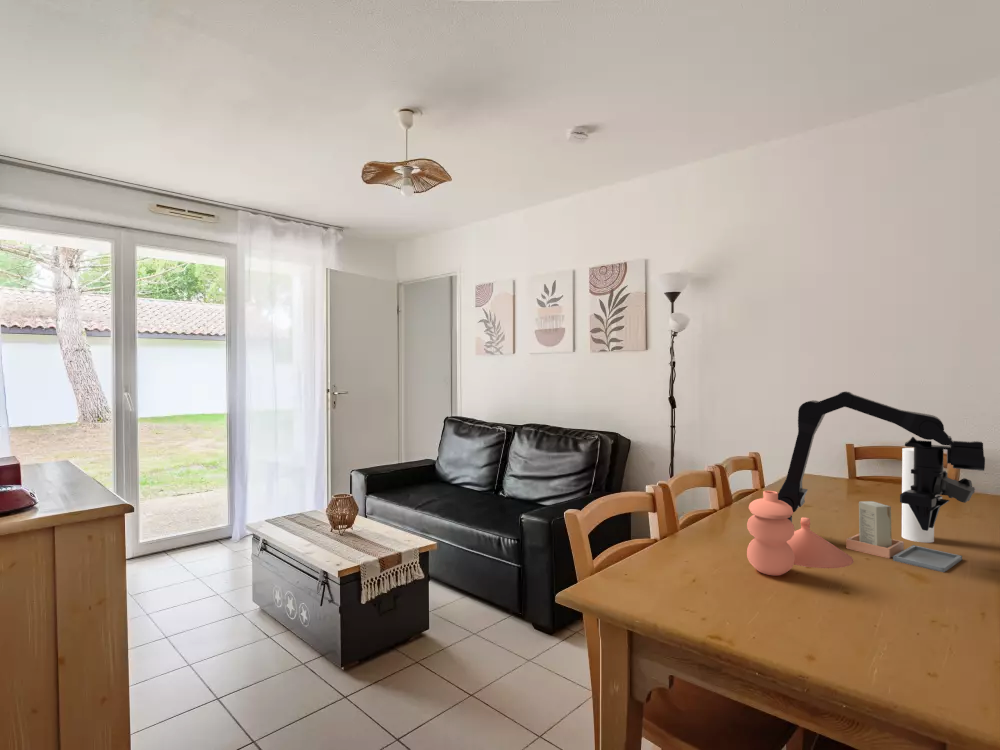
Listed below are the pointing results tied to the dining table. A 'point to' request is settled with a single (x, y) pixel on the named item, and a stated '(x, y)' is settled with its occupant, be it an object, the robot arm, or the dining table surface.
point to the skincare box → (875, 524)
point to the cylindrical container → (909, 521)
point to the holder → (874, 547)
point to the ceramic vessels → (786, 540)
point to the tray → (927, 558)
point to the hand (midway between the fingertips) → (927, 528)
